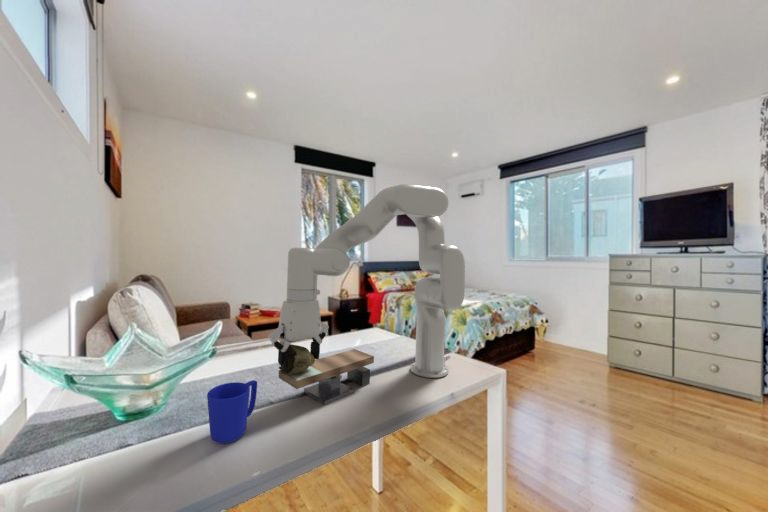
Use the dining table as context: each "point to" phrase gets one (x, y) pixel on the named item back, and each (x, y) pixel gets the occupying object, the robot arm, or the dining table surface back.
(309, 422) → the dining table surface
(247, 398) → the mug
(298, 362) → the olive green rounded piece
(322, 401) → the pivot stand
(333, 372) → the beam
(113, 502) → the dining table surface
